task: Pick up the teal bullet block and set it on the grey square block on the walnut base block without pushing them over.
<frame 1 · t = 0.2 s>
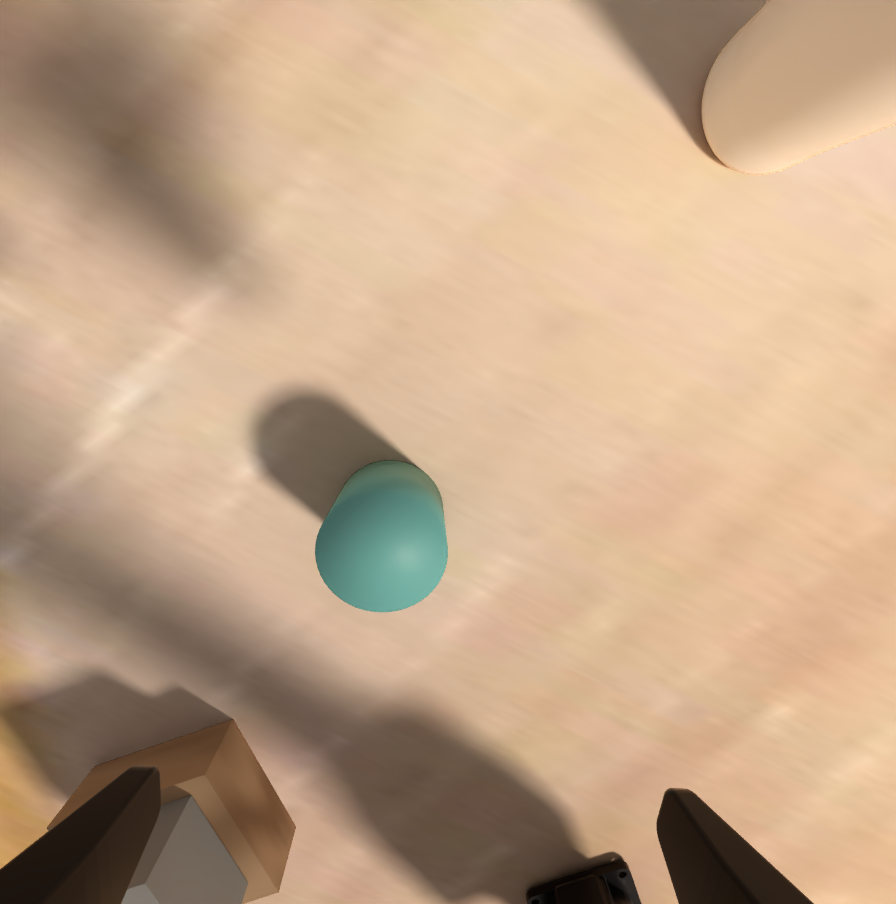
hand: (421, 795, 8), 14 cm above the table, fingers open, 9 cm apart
teal bullet block: (390, 510, 21), on the table
grey square block: (163, 859, 22), point 3 cm above the table, touching walnut base block
walnut base block: (201, 791, 25), on the table, touching grey square block
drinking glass: (755, 109, 18), on the table
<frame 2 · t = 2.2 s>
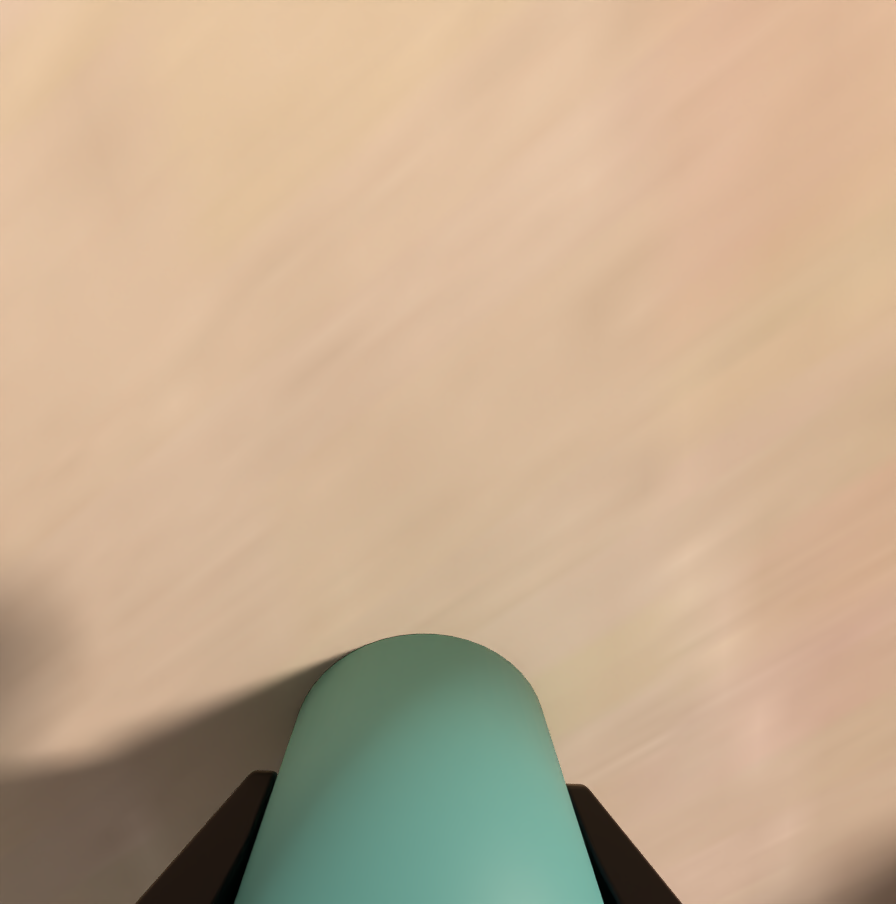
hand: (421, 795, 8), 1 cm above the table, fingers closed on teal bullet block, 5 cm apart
teal bullet block: (421, 743, 9), on the table, touching gripper
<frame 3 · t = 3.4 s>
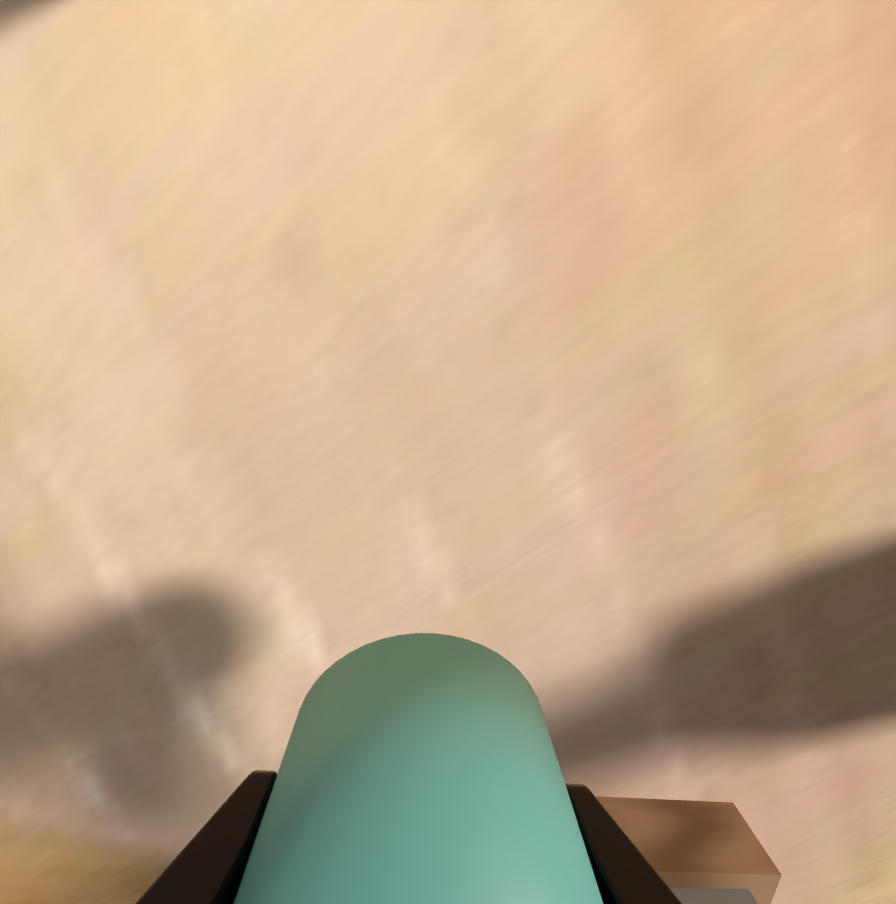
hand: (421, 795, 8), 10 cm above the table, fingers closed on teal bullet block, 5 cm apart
teal bullet block: (421, 742, 9), point 9 cm above the table, touching gripper
walnut base block: (633, 852, 23), on the table, touching grey square block
when the fingers open (9 cm above the table, at t = 5.6 s): teal bullet block drops 2 cm, resting on grey square block.
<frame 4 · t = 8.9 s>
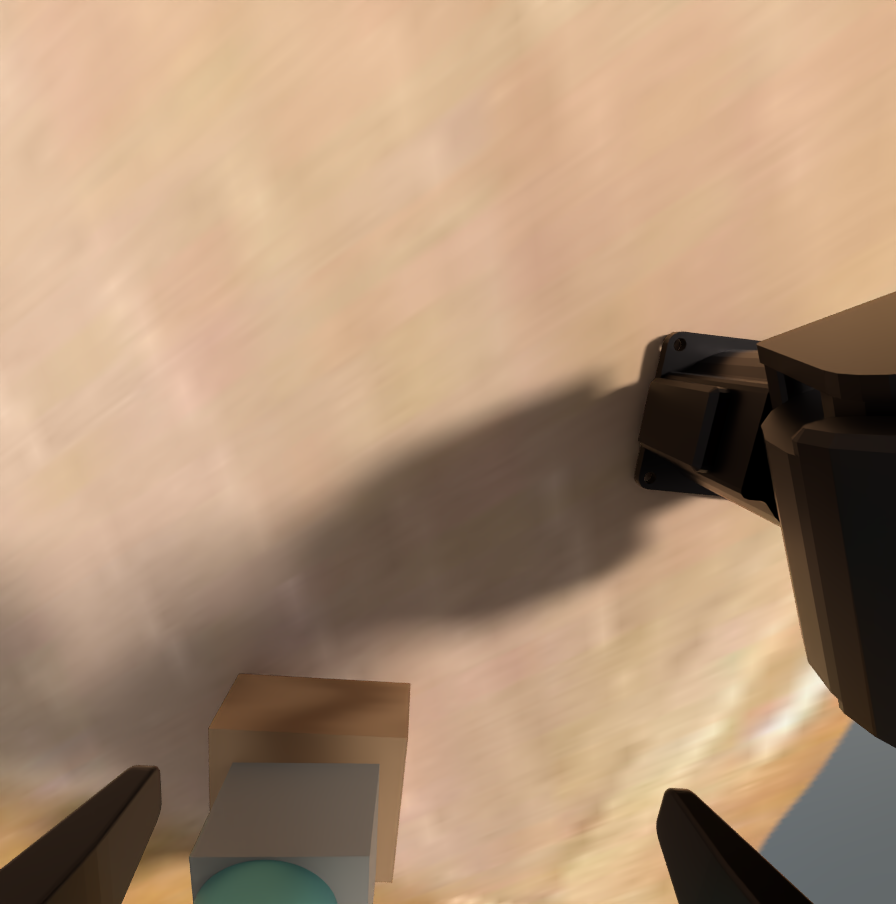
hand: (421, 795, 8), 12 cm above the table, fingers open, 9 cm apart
grey square block: (307, 819, 19), point 3 cm above the table, touching teal bullet block, walnut base block
walnut base block: (324, 739, 23), on the table, touching grey square block
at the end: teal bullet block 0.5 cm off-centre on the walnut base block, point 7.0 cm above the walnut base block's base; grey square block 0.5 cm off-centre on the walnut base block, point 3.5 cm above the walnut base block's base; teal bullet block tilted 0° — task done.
